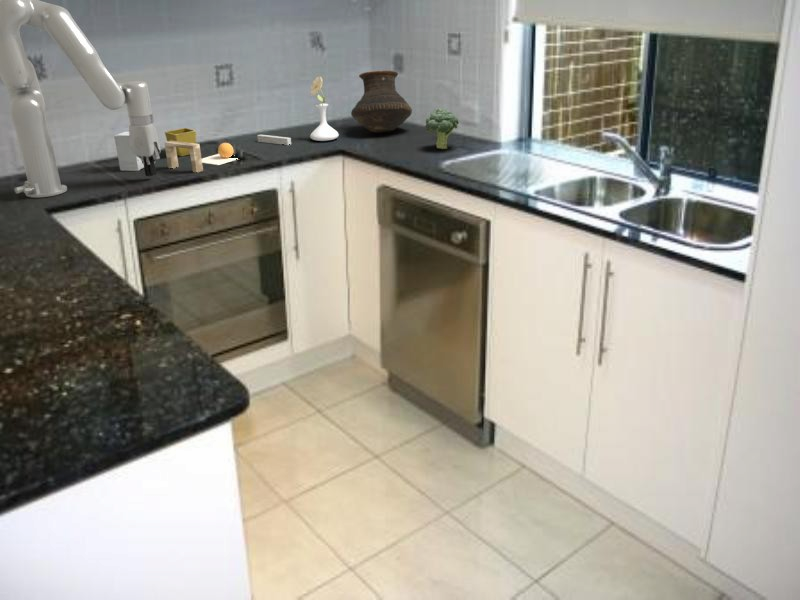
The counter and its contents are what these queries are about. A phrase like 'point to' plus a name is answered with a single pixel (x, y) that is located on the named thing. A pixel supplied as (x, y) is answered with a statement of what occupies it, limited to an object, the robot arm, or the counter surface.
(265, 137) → the wall
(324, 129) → the flower in vase
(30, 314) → the counter surface
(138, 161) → the supplement box
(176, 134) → the flower pot
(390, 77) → the ceramic pot
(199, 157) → the bridge
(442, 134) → the vegetable
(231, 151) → the ball
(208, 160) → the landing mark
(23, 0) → the robot arm
